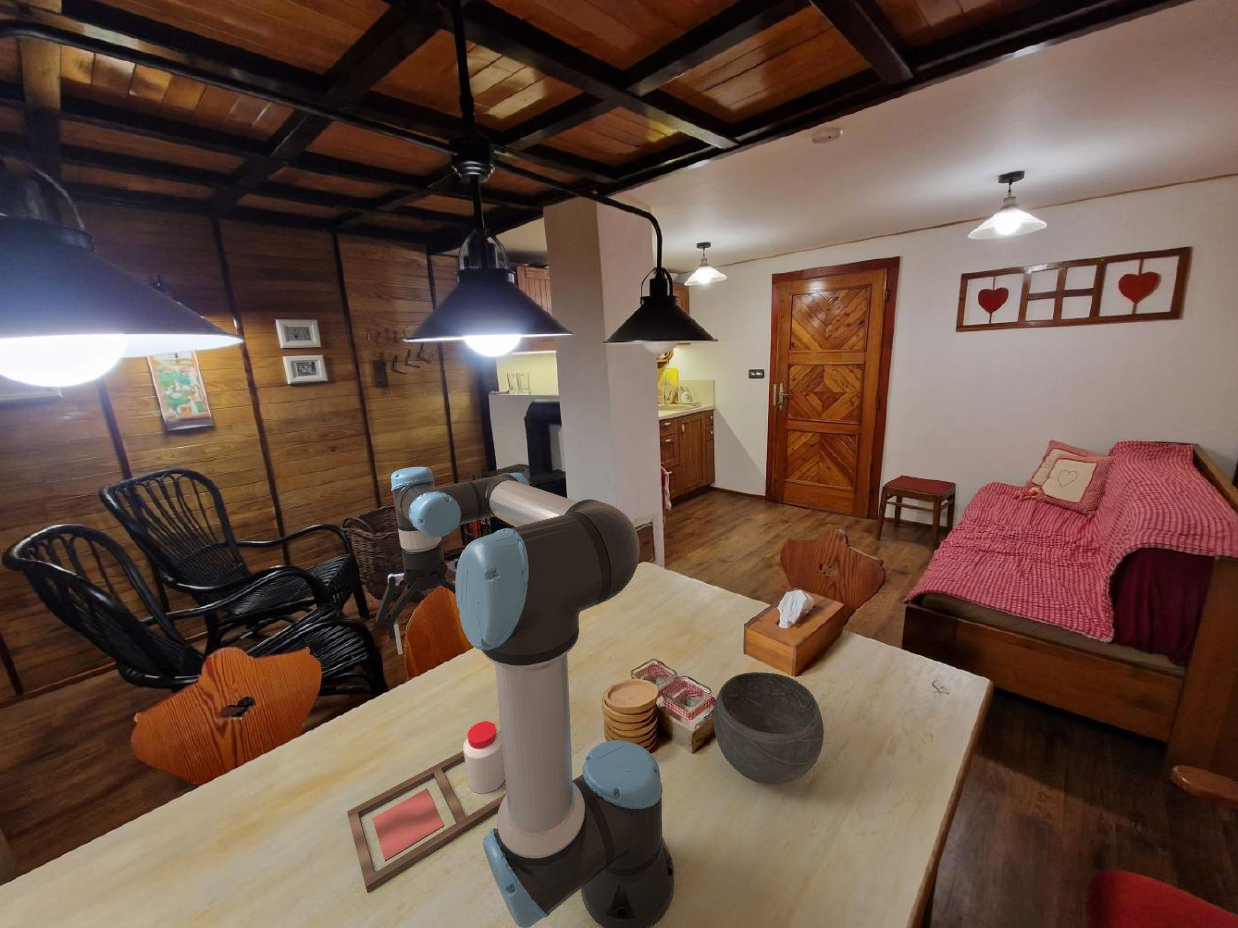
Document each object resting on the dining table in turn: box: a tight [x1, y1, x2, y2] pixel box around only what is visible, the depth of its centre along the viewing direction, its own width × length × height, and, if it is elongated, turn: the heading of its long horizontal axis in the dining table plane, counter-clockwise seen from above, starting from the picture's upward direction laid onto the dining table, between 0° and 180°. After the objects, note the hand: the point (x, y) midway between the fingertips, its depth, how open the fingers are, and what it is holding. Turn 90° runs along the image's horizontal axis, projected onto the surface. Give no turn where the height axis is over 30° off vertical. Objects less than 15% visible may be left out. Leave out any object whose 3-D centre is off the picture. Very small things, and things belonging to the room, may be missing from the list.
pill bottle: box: [462, 720, 505, 795], centre depth 99 cm, size 8×8×11 cm
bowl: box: [712, 671, 825, 786], centre depth 99 cm, size 21×21×15 cm
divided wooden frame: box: [347, 730, 507, 893], centre depth 95 cm, size 17×32×1 cm, turn 127°
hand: (435, 640), depth 102 cm, fingers open, 13 cm apart
